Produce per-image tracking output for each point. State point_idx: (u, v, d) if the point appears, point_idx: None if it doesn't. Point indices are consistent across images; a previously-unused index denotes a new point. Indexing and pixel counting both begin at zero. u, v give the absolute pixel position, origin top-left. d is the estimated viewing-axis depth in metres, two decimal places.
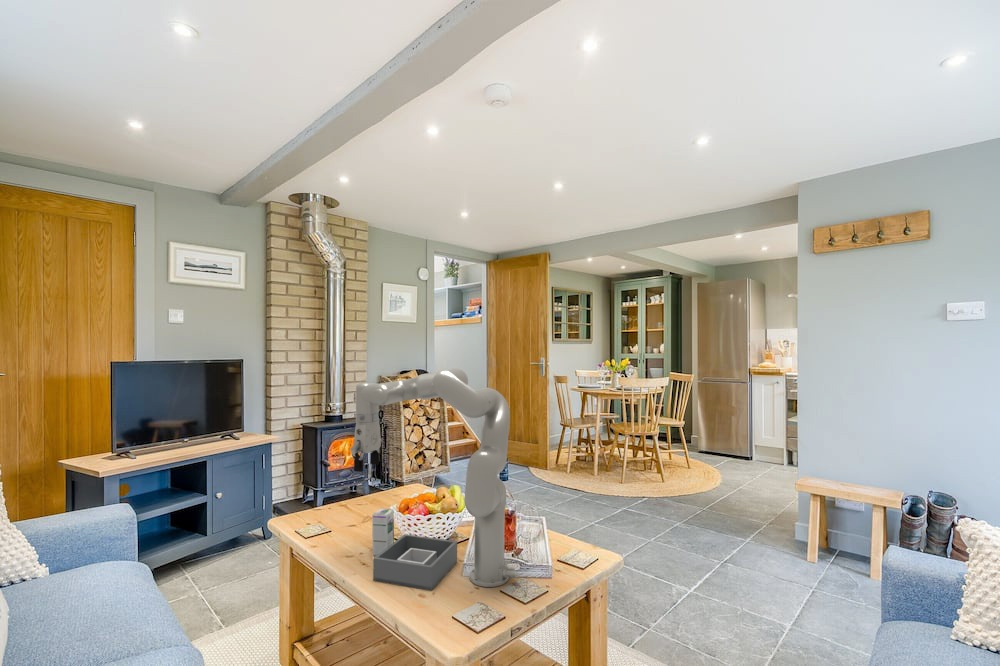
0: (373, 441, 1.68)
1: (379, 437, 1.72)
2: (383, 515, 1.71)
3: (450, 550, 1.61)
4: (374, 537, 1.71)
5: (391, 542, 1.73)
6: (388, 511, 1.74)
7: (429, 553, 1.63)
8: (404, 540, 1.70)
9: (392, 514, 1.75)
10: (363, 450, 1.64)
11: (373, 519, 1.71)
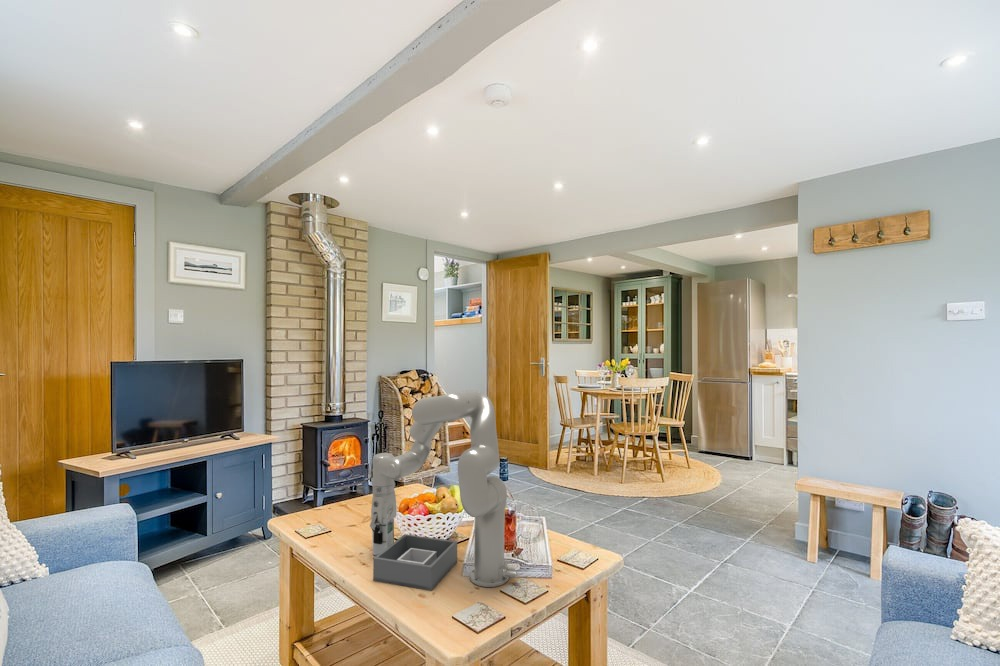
0: (389, 512, 1.73)
1: (395, 506, 1.76)
2: None
3: (450, 550, 1.61)
4: None
5: (391, 542, 1.73)
6: None
7: (429, 553, 1.63)
8: (404, 540, 1.70)
9: None
10: (380, 522, 1.68)
11: None
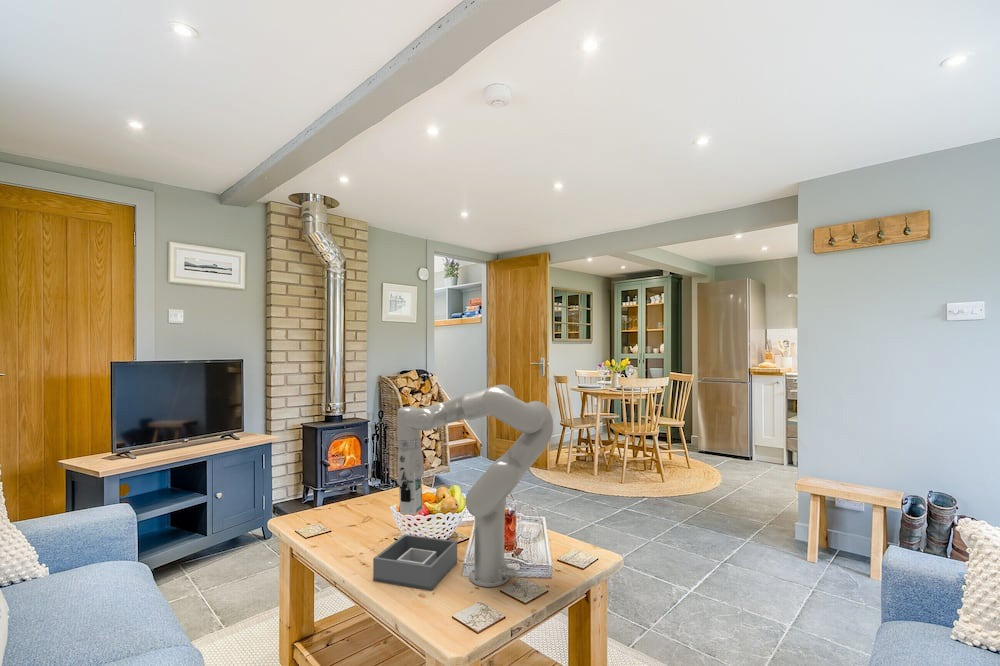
0: (417, 468, 1.62)
1: (422, 463, 1.66)
2: None
3: (450, 550, 1.61)
4: None
5: (419, 500, 1.62)
6: None
7: (429, 553, 1.63)
8: (404, 540, 1.70)
9: None
10: (407, 478, 1.58)
11: None
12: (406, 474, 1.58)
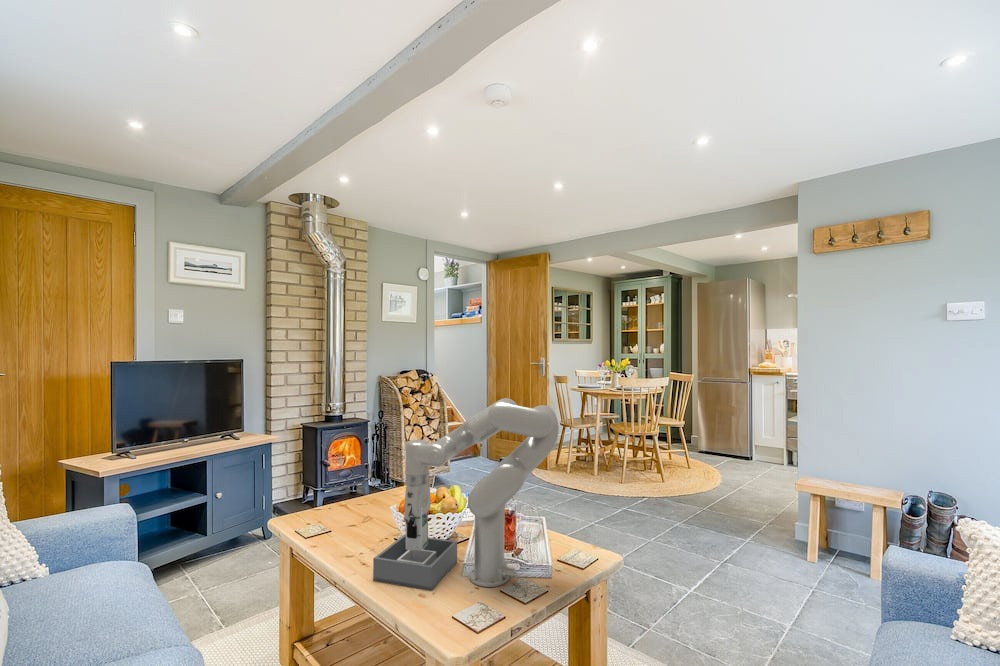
0: (424, 503, 1.59)
1: (429, 498, 1.63)
2: None
3: (450, 550, 1.61)
4: None
5: (425, 536, 1.59)
6: None
7: (429, 553, 1.63)
8: (404, 540, 1.70)
9: None
10: (415, 514, 1.54)
11: None
12: (413, 510, 1.55)
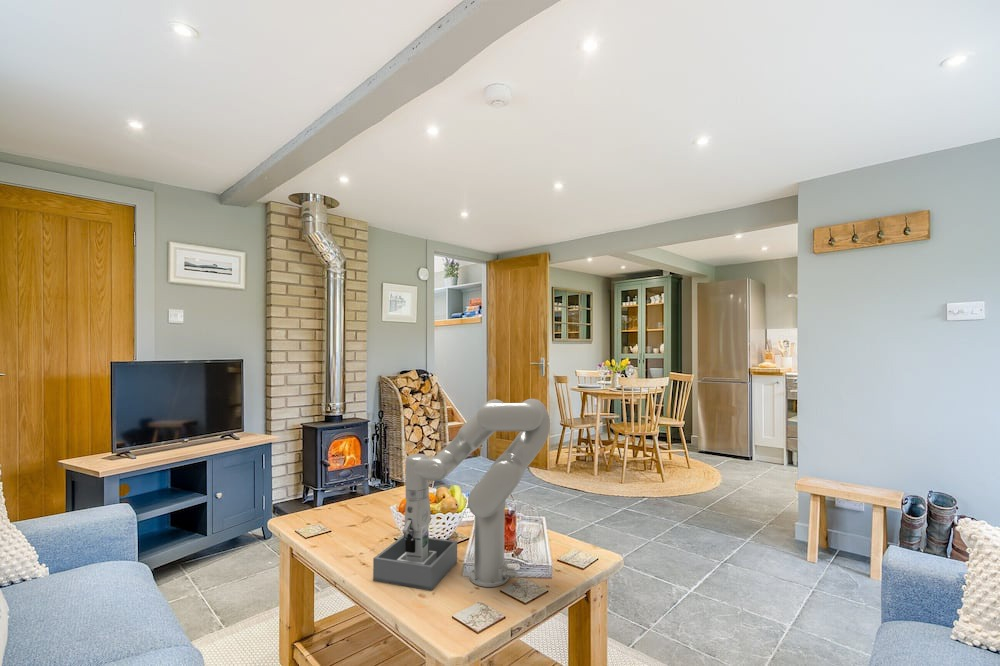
0: (424, 518, 1.59)
1: (429, 512, 1.62)
2: None
3: (450, 550, 1.61)
4: None
5: (426, 557, 1.59)
6: None
7: (429, 553, 1.63)
8: (404, 540, 1.70)
9: (427, 526, 1.60)
10: (415, 529, 1.54)
11: None
12: (413, 525, 1.54)
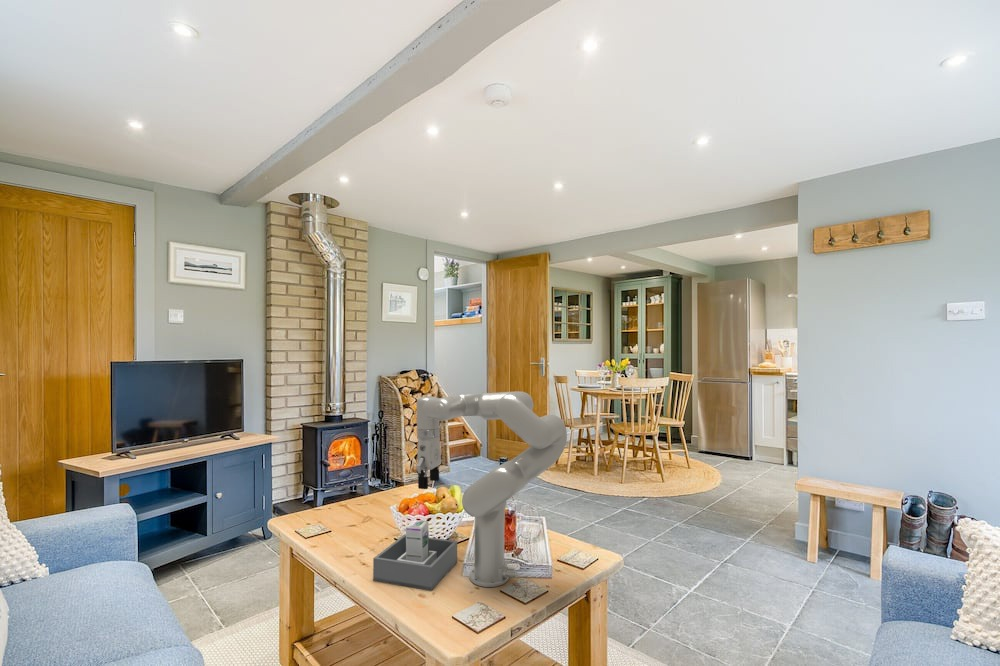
0: (435, 457, 1.64)
1: (440, 452, 1.68)
2: (417, 528, 1.57)
3: (450, 550, 1.61)
4: (408, 551, 1.57)
5: (426, 557, 1.59)
6: (423, 523, 1.60)
7: (429, 553, 1.63)
8: (404, 540, 1.70)
9: (427, 526, 1.61)
10: (428, 467, 1.59)
11: (406, 532, 1.58)
12: (426, 463, 1.59)
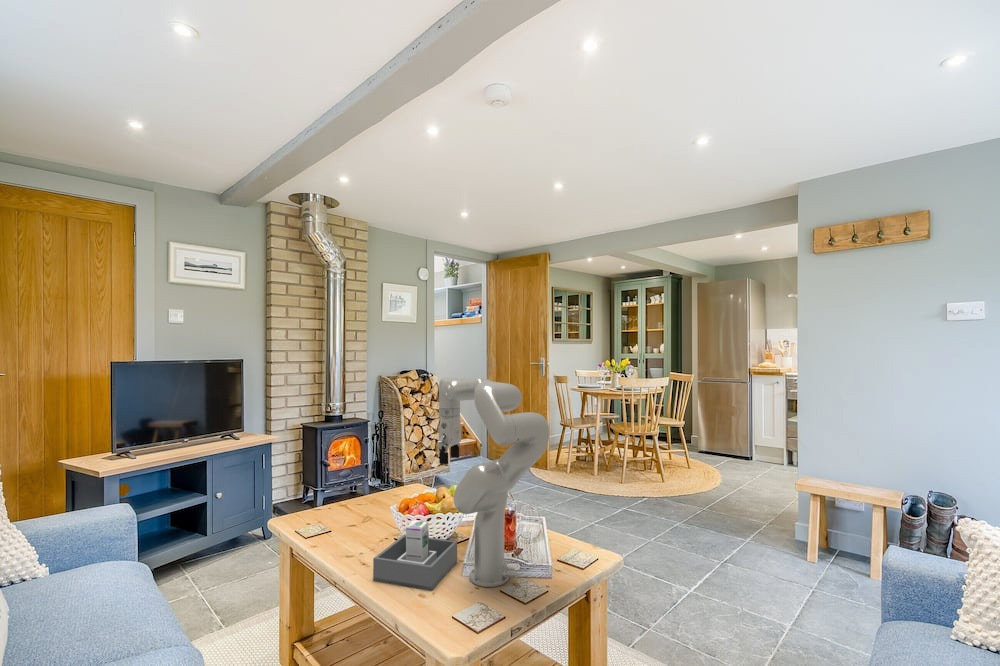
0: (456, 435, 1.74)
1: (460, 431, 1.78)
2: (417, 528, 1.57)
3: (450, 550, 1.61)
4: (408, 551, 1.57)
5: (426, 557, 1.59)
6: (423, 523, 1.60)
7: (429, 553, 1.63)
8: (404, 540, 1.70)
9: (427, 526, 1.61)
10: (448, 443, 1.70)
11: (406, 532, 1.58)
12: (447, 439, 1.70)
